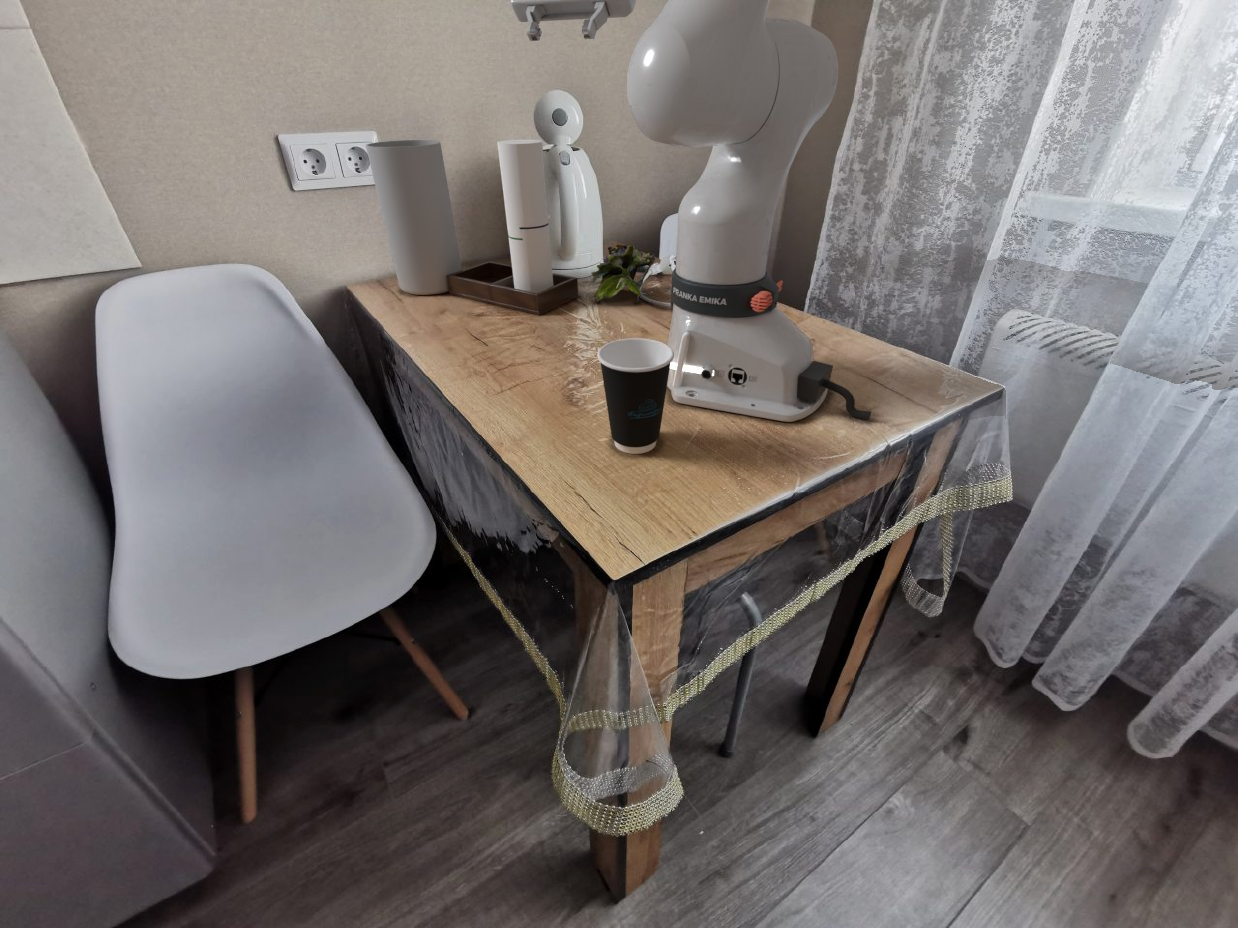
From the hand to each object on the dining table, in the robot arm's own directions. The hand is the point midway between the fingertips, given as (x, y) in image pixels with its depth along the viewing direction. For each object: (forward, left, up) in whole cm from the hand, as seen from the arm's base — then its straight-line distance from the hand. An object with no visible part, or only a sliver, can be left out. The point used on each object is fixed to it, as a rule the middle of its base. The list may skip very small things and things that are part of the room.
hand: (559, 36), depth 85 cm
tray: (+9, +7, -39) cm, 41 cm away
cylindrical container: (+4, +7, -39) cm, 40 cm away
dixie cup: (-38, +39, -40) cm, 67 cm away
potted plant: (-10, -3, -40) cm, 41 cm away
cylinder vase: (+27, +11, -40) cm, 49 cm away
